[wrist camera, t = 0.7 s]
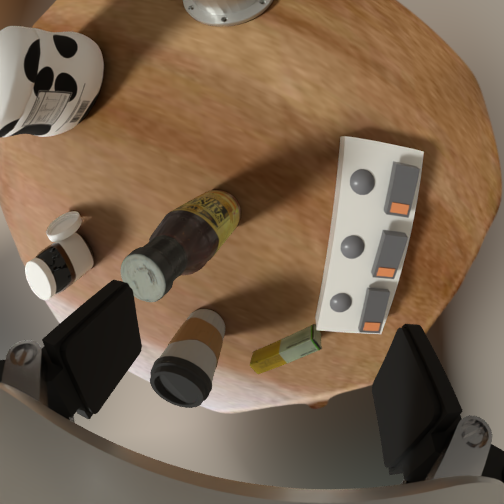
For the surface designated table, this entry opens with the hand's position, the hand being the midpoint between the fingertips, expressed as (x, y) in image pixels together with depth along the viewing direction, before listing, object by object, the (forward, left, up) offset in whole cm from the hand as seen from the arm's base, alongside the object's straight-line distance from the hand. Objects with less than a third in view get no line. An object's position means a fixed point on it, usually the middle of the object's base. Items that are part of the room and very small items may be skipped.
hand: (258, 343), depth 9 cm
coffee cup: (+22, -11, -28) cm, 38 cm away
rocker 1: (+13, +13, -23) cm, 30 cm away
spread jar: (+10, -36, -28) cm, 47 cm away
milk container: (-18, -35, -28) cm, 48 cm away
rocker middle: (+5, +13, -23) cm, 27 cm away
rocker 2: (-3, +13, -23) cm, 27 cm away
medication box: (+25, +2, -29) cm, 38 cm away
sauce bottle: (+3, -9, -28) cm, 30 cm away
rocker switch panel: (+5, +11, -28) cm, 31 cm away
